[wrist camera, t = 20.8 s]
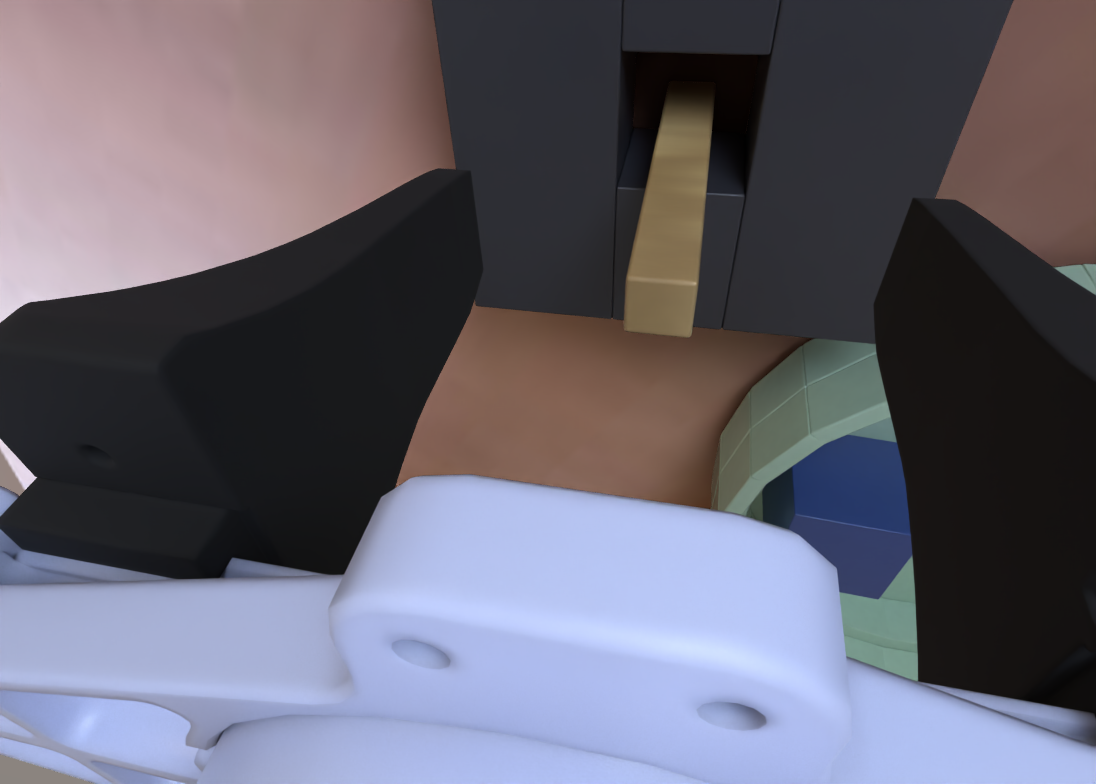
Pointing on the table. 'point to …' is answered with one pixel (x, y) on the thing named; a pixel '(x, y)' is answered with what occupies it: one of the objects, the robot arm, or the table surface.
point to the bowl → (801, 428)
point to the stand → (735, 158)
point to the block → (848, 510)
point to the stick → (672, 217)
